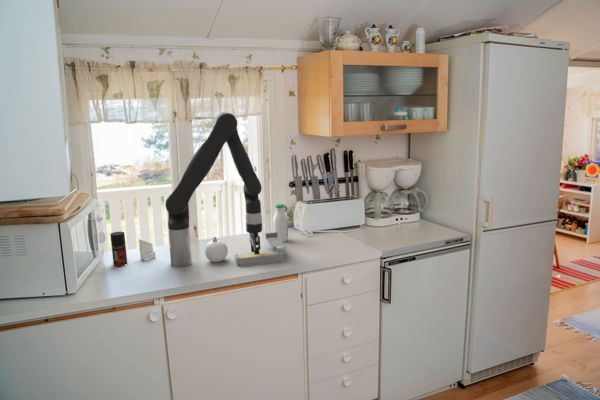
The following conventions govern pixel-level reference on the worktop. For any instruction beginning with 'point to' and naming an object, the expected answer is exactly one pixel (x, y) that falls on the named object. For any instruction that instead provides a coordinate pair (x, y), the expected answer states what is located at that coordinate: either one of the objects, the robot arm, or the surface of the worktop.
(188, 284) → the worktop surface
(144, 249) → the white wedge bracket
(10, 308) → the worktop surface
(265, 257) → the grey tray
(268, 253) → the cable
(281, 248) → the cover
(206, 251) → the ornament
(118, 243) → the deodorant
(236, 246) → the worktop surface
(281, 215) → the milk bottle
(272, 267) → the worktop surface
